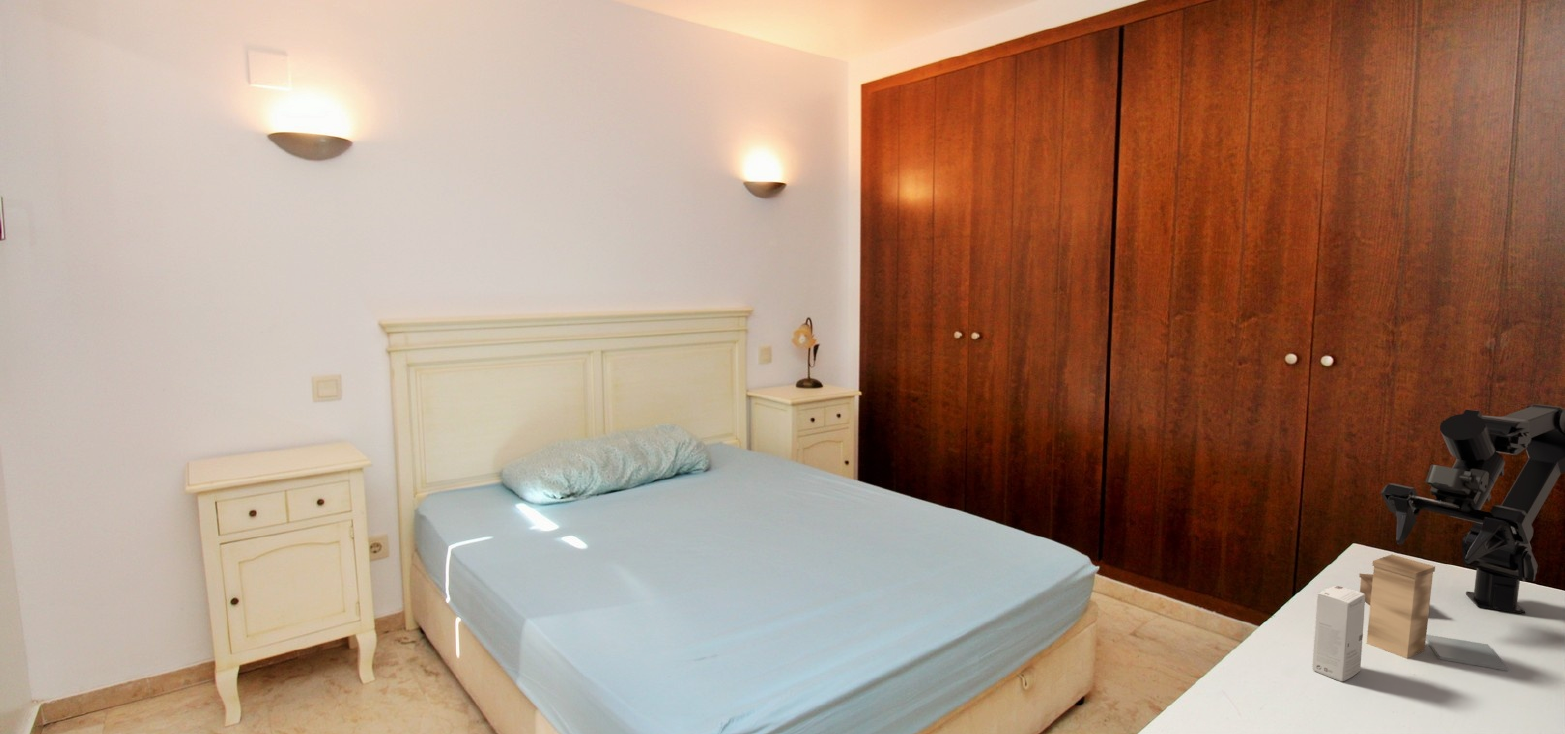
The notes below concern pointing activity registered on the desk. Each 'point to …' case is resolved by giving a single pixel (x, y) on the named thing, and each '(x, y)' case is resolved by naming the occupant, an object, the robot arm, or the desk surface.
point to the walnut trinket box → (1366, 586)
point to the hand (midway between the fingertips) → (1431, 552)
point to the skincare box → (1338, 633)
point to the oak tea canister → (1399, 605)
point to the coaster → (1465, 652)
